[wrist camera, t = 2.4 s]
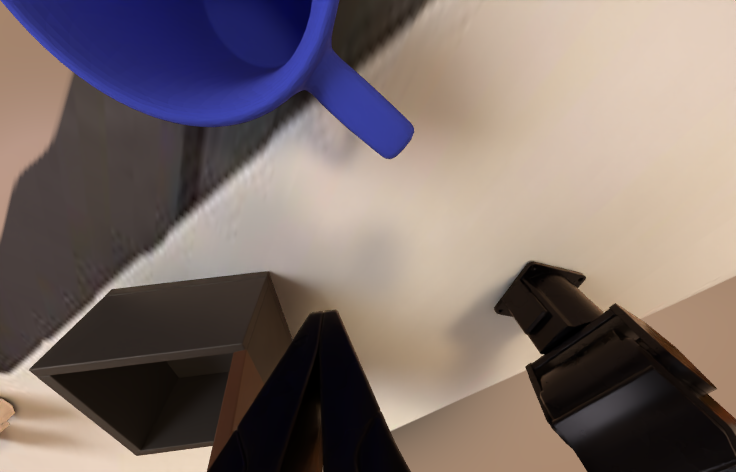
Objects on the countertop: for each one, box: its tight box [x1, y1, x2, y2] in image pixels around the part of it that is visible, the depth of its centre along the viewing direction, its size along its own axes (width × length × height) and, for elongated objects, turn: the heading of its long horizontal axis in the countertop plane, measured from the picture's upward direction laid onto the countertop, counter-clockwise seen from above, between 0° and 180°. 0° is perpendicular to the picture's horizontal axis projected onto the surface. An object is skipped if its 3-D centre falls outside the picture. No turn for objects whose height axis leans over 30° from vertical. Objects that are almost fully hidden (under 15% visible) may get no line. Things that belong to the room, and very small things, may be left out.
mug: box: [1, 0, 414, 159], centre depth 11 cm, size 8×12×10 cm
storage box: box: [29, 271, 292, 456], centre depth 23 cm, size 13×13×7 cm
